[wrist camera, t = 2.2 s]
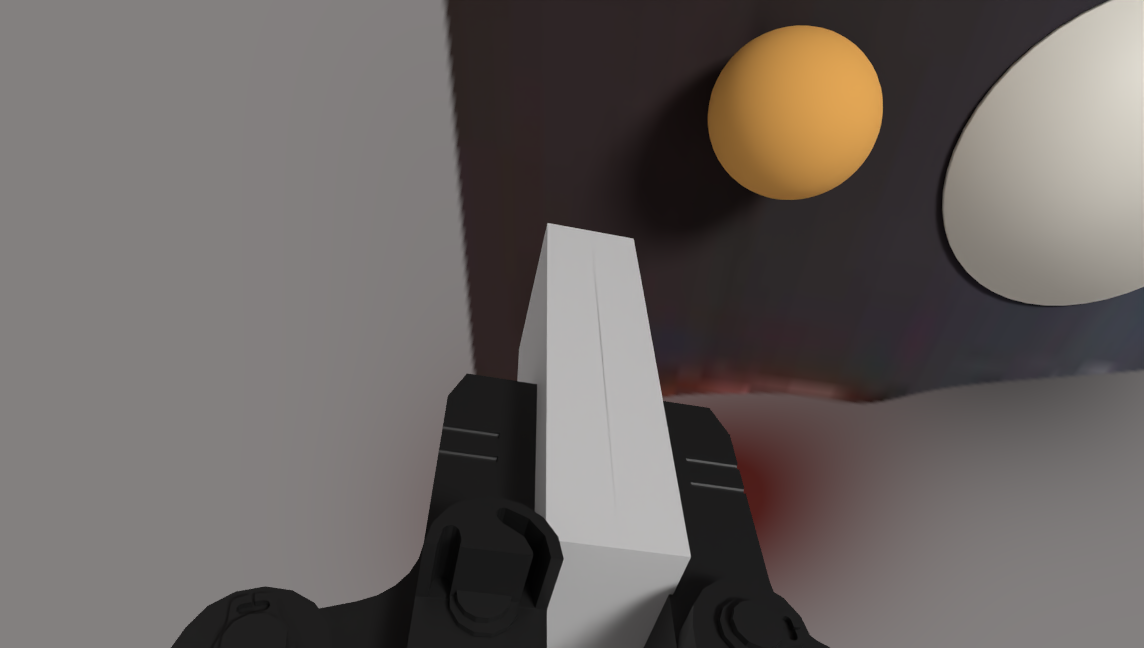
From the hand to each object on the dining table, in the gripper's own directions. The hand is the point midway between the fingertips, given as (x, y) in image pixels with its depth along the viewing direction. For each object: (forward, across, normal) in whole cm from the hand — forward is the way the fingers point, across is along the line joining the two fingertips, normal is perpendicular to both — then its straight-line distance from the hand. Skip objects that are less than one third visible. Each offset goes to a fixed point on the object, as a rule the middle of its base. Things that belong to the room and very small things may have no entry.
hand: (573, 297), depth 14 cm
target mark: (+16, +22, 0) cm, 27 cm away
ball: (+13, +8, 0) cm, 15 cm away
